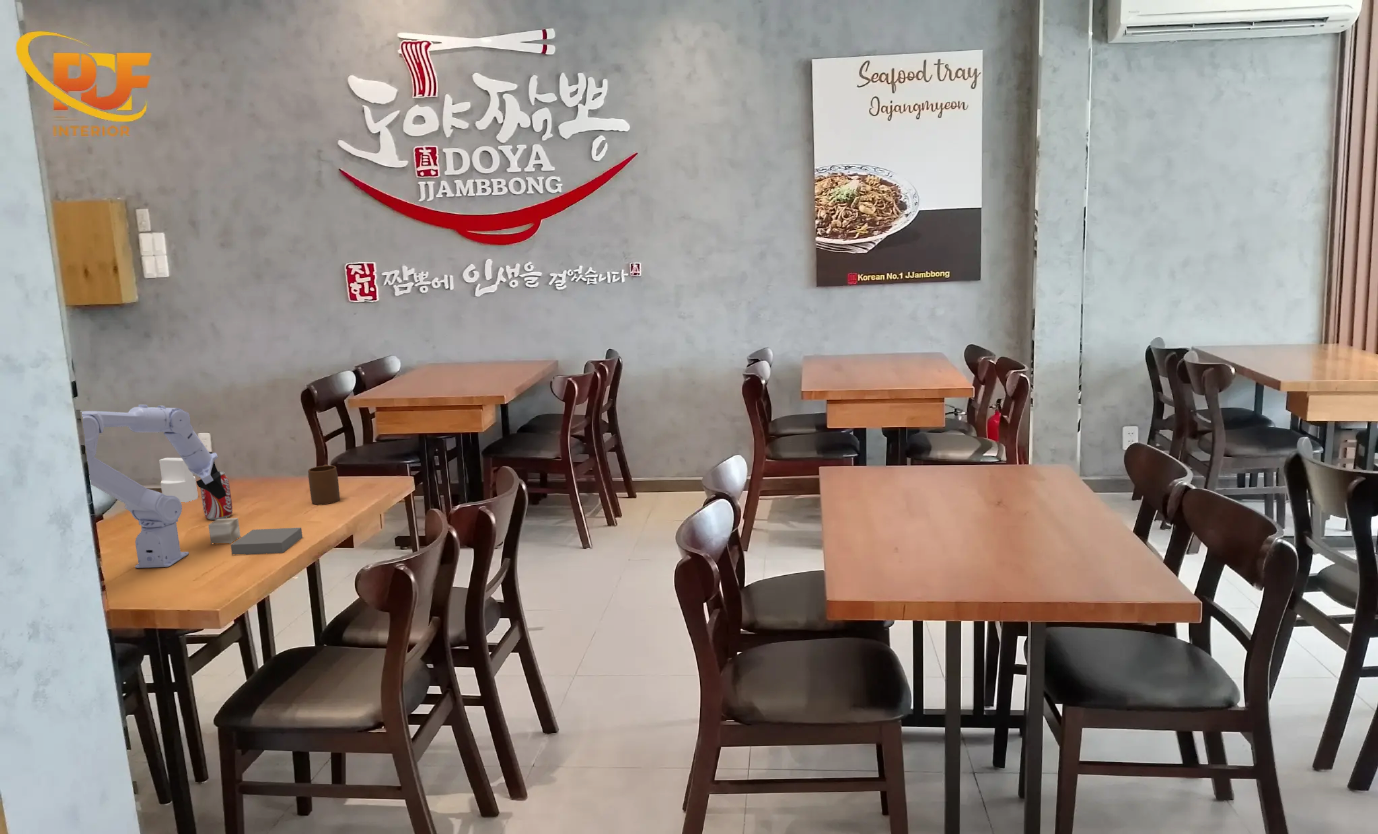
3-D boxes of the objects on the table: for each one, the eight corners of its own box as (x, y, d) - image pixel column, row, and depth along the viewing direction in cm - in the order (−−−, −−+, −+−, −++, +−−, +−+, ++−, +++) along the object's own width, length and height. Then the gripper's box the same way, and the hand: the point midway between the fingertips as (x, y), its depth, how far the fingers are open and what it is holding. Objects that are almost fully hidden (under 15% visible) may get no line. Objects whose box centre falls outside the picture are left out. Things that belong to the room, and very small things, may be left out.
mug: (316, 495, 293) (312, 463, 291) (344, 492, 294) (340, 460, 292) (309, 506, 281) (305, 472, 279) (338, 503, 283) (334, 470, 281)
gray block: (231, 543, 250) (228, 523, 249) (211, 544, 250) (208, 524, 249) (240, 537, 255) (237, 518, 254) (220, 538, 255) (217, 518, 254)
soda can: (222, 521, 270) (216, 476, 268) (198, 521, 272) (192, 476, 270) (239, 513, 277) (233, 470, 275) (215, 513, 279) (209, 470, 276)
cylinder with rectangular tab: (156, 503, 293) (150, 462, 291) (180, 495, 301) (174, 455, 299) (181, 504, 290) (175, 463, 288) (205, 496, 299) (199, 455, 296)
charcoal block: (283, 554, 240) (281, 542, 240) (232, 557, 241) (230, 544, 240) (302, 539, 252) (301, 527, 252) (254, 541, 253) (252, 529, 252)
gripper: (212, 455, 241) (240, 495, 250) (201, 426, 252) (229, 466, 260) (182, 469, 239) (212, 510, 248) (173, 440, 250) (202, 480, 258)
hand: (219, 488), depth 254 cm, fingers open, 7 cm apart
